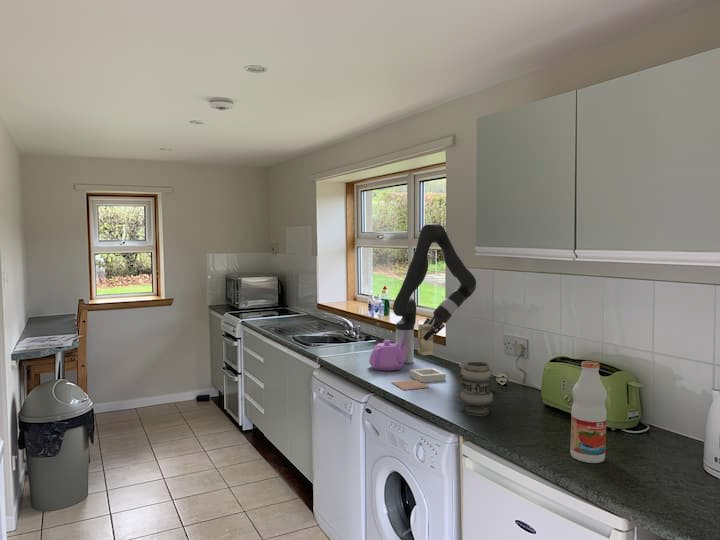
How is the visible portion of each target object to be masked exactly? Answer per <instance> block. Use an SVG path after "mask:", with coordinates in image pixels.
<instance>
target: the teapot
mask: <svg viewBox="0 0 720 540" xmlns="http://www.w3.org/2000/svg"><path fill="white" fill-rule="evenodd" d="M408 346H409V345H405V346H403V349H402V352H401V350H400V347H399V345H398V344H397V343H396V342H394V343H392V342H391V340H389V339H383V342H380V343H379V342H378V343H377V344H375V346H374V348H373V349H372V351H371V353H370V356H369V358H368V359H369V361H368V362H369V365H370V366H371V367H372V369H375V370H379V371H386V372H391V371H397V370H399V369H401V368H402V367H403V366H404V364H405V363H404V362H405V360H406V357H407V354H406V350H407V347H408Z"/></svg>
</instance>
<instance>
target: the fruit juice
mask: <svg viewBox="0 0 720 540" xmlns="http://www.w3.org/2000/svg"><path fill="white" fill-rule="evenodd" d="M580 366H581V373H580V375H579V377H578V381H576V382H575V384H574V386H573V388H572V396H573V403H572V406H571V412H570V416H571V419H570V420H571V422H570V423H571V424H570V455H571V457H572V458H573V459H575V460H577V461H580V462H584V463H589V464H599V463H602V462H604V461H605V459H606V442H607V440H606V439H607V418H608V417H607V409H606V406H605V404H606V401H607V397H608V395H607V393H608V392H607V389H606V387H605V386H604V384H603V382H602V379H601V376H600V373H599V370H600V366H601V365H600V363H599V362H598V361H593V360H592V361H591V360H584V361H581V365H580Z"/></svg>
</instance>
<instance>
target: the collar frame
mask: <svg viewBox="0 0 720 540" xmlns="http://www.w3.org/2000/svg"><path fill="white" fill-rule="evenodd" d="M409 377H411V378H412V377H413V378H412V379H414V378H415V379H414V380H417V381H418V380H419V382H424V383H431V382H433V383H434V381H435V382H444V381H446V380H447V379H446V378H447V374H446V373H445V372H442V371H440V370H438V369H437V368H435V367H430V368H429V367H428V368H417V369H409Z"/></svg>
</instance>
